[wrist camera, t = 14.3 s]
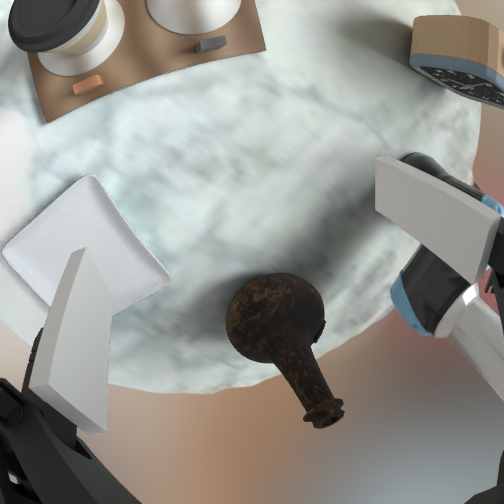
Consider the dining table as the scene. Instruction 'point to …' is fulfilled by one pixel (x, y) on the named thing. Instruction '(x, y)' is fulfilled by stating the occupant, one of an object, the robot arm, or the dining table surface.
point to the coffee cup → (58, 25)
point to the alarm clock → (460, 56)
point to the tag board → (145, 48)
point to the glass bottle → (285, 337)
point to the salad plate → (85, 235)
